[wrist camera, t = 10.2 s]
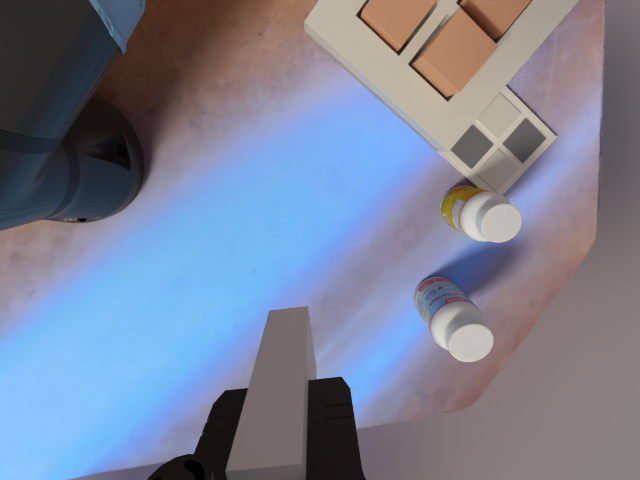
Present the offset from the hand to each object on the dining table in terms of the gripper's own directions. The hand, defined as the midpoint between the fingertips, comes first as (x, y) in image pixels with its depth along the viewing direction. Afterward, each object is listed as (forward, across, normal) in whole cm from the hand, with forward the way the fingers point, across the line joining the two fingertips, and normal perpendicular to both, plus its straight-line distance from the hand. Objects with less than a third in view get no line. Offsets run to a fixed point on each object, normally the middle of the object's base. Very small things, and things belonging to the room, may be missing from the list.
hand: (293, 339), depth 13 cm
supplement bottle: (+30, +19, -2) cm, 35 cm away
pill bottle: (+30, +16, -14) cm, 36 cm away
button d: (+28, +11, +19) cm, 36 cm away
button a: (+28, +21, +19) cm, 40 cm away
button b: (+26, +16, +14) cm, 34 cm away
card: (+29, +23, +5) cm, 38 cm away
